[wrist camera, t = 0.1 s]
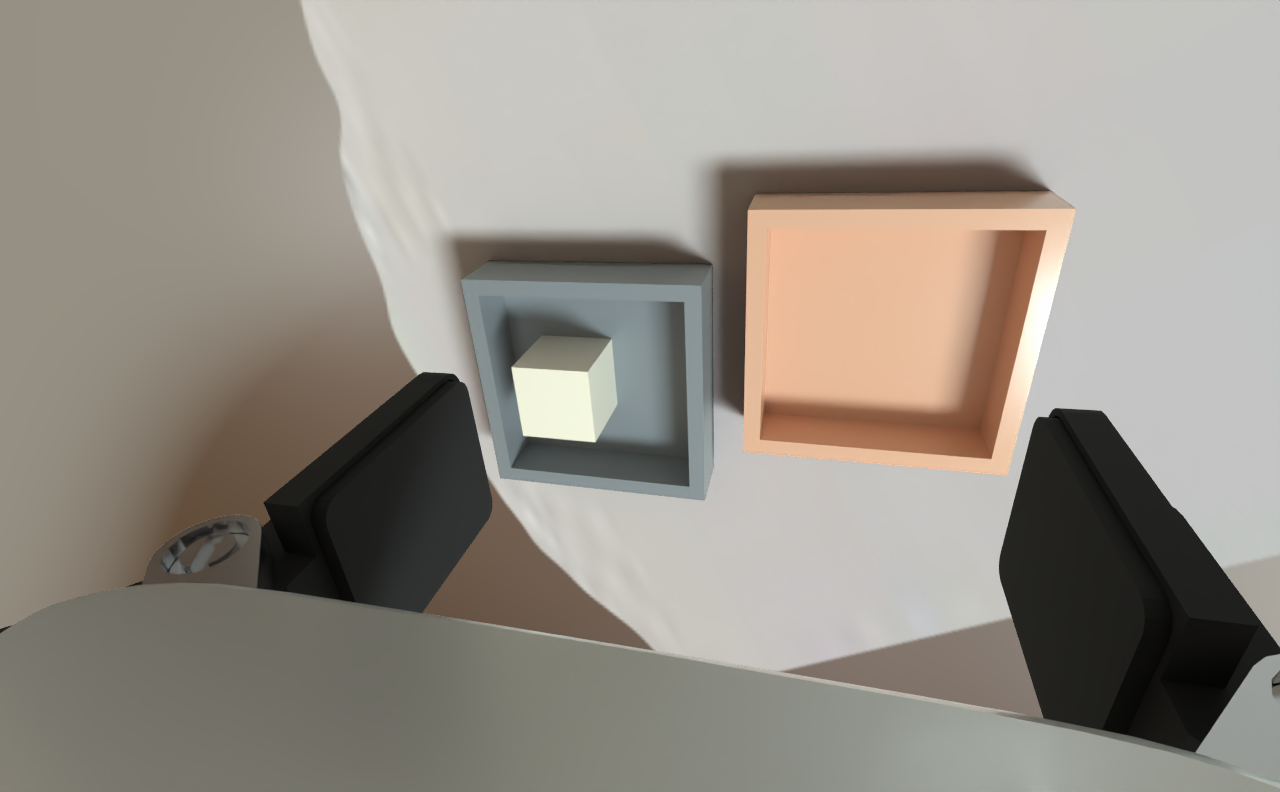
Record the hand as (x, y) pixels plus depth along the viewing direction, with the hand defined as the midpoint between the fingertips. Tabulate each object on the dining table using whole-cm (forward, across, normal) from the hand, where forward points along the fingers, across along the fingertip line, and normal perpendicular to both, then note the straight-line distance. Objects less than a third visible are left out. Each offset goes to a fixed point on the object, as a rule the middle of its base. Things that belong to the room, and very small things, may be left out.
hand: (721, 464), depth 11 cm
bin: (+37, +15, +17) cm, 43 cm away
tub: (+37, -6, +12) cm, 39 cm away
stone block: (+36, +17, +17) cm, 43 cm away
